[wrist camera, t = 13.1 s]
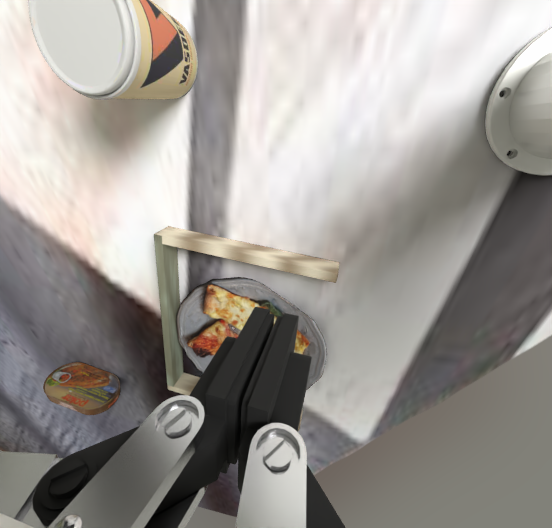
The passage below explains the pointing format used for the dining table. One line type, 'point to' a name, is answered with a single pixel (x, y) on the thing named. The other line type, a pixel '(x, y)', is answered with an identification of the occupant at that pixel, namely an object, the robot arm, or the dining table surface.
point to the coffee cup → (115, 48)
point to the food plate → (239, 320)
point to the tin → (82, 388)
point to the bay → (219, 247)
